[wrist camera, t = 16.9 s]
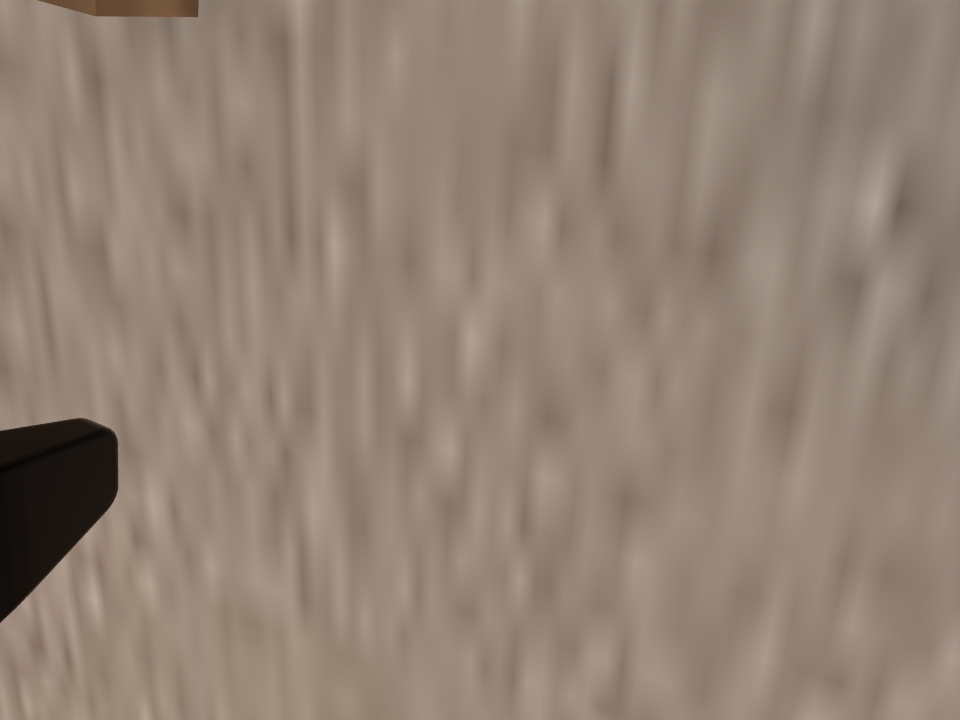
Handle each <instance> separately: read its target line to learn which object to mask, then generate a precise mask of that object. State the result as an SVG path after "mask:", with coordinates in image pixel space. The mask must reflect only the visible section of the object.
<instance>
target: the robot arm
mask: <svg viewBox="0 0 960 720" xmlns="http://www.w3.org/2000/svg"><path fill="white" fill-rule="evenodd" d="M117 491H118V440H117V437H116V435H115V433H114V432H113V431H112V430H111V429H109V428H107V427H105V426H103V425H100V424H98V423H96V422H93V421H91V420H88V419H84V418H77V419H70V420H64V421H58V422H52V423H46V424H40V425H33V426H27V427H21V428H15V429H9V430H3V431H0V623H1V622H2V621H3V620H4V619H5V618H6V617H7V616H8V615H9V614H10V613H11V612H12V611H13V610H14V609H15V608H16V607H17V606H18V605H19V604H20V603H21V602H22V601H23V600H24V599H25V598H26V597H27V596H28V595H29V594H30V593H31V592H32V591H33V590H34V589H35V588H36V587H37V586H38V585H39V584H40V582H41V581H42V580H43V579H44V578H45V577H46V576H47V575H48V574H49V573H50V572H51V571H52V570H53V568H54V567H55V566H56V565H57V564H58V563H59V562H60V561H61V560H62V559H63V558H64V557H65V555H66V554H67V553H68V552H69V551H70V550H71V549H72V548H73V547H74V546H75V545H76V544H77V542H78V541H79V540H80V539H81V538H82V537H83V536H84V535H85V534H86V533H87V532H88V531H89V530H90V528H91V527H92V526H93V525H94V524H95V523H96V522H97V521H98V520H99V519H100V518H101V517H102V515H103V514H104V513H105V512H106V511H107V510H108V509H109V507H110V506H111V505H112V503H113V501H114V499H115V497H116V495H117Z"/></svg>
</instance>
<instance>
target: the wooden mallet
mask: <svg viewBox="0 0 960 720" xmlns="http://www.w3.org/2000/svg"><path fill="white" fill-rule="evenodd" d="M39 1H42V2H46V3H50V4H53V5H57V6H61V7H64V8H68V9H71V10H75V11H79V12H82V13H86V14H89V15H93V16H144V17H198V0H39Z"/></svg>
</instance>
